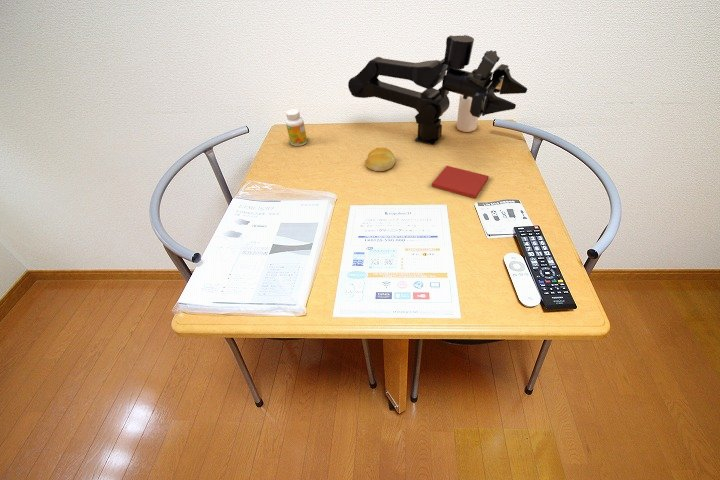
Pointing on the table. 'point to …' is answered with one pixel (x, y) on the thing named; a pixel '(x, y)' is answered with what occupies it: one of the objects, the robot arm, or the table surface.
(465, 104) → the can
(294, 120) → the supplement bottle
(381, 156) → the bread roll
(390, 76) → the robot arm
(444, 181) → the pad
